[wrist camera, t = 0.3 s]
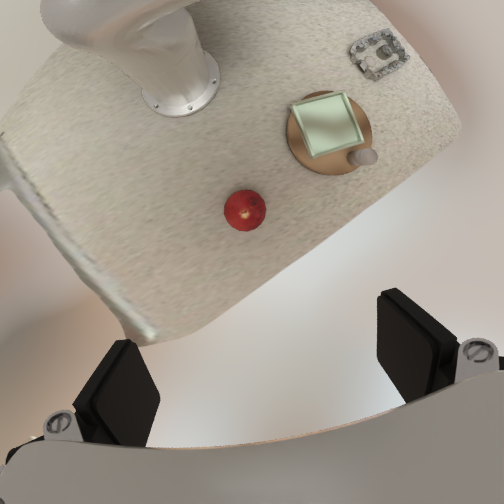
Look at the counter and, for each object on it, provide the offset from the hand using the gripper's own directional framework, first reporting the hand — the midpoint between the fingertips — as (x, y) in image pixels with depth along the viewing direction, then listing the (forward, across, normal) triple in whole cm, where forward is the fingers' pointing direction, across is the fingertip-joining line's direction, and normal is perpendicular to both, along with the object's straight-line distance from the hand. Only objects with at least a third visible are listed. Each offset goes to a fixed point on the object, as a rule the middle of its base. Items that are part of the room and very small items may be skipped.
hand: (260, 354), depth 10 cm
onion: (+35, 0, -2) cm, 35 cm away
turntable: (+34, -15, -11) cm, 38 cm away
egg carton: (+35, -28, -25) cm, 51 cm away
